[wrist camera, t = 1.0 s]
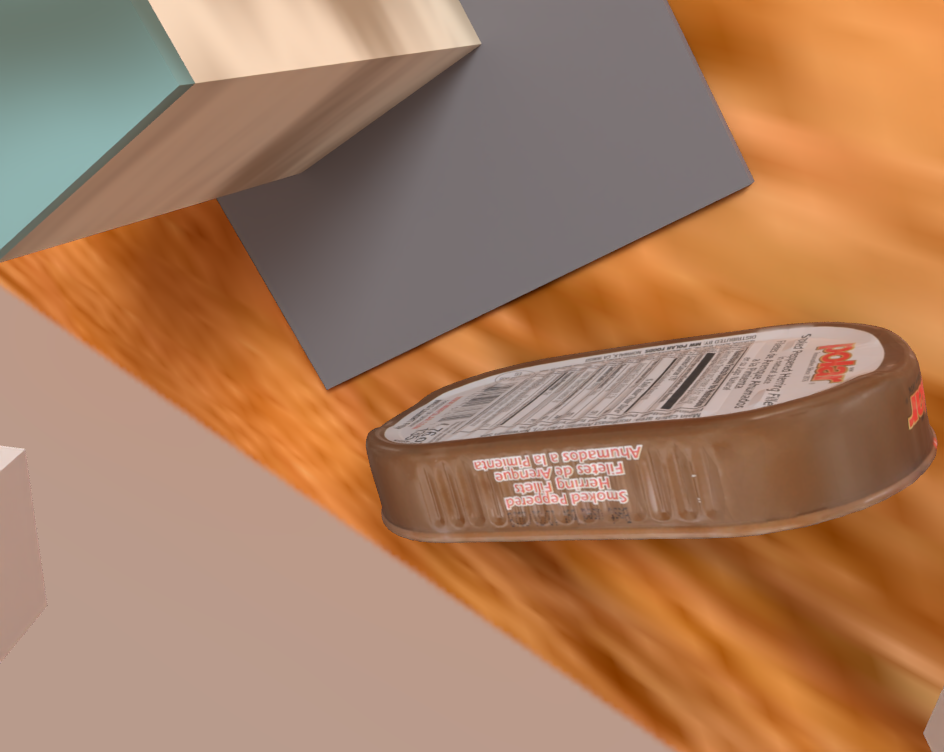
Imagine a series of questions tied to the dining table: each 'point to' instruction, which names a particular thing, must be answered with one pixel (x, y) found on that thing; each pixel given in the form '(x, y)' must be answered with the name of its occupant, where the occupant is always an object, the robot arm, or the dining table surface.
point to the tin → (661, 440)
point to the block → (192, 99)
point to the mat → (491, 179)
